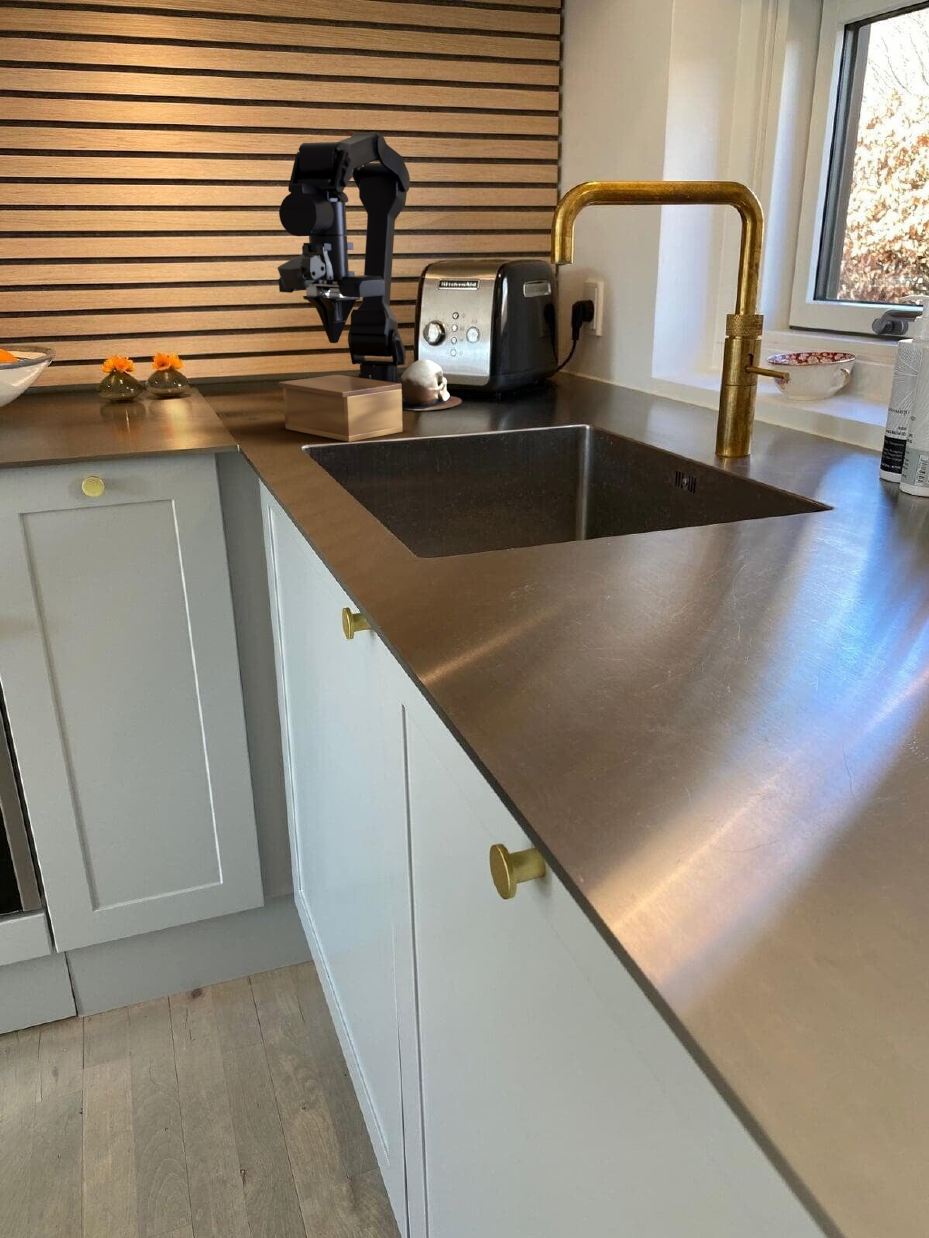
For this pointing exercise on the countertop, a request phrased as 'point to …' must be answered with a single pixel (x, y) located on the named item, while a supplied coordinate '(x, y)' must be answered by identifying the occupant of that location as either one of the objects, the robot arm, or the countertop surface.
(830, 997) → the countertop surface
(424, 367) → the skull
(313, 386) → the lid
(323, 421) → the chest
